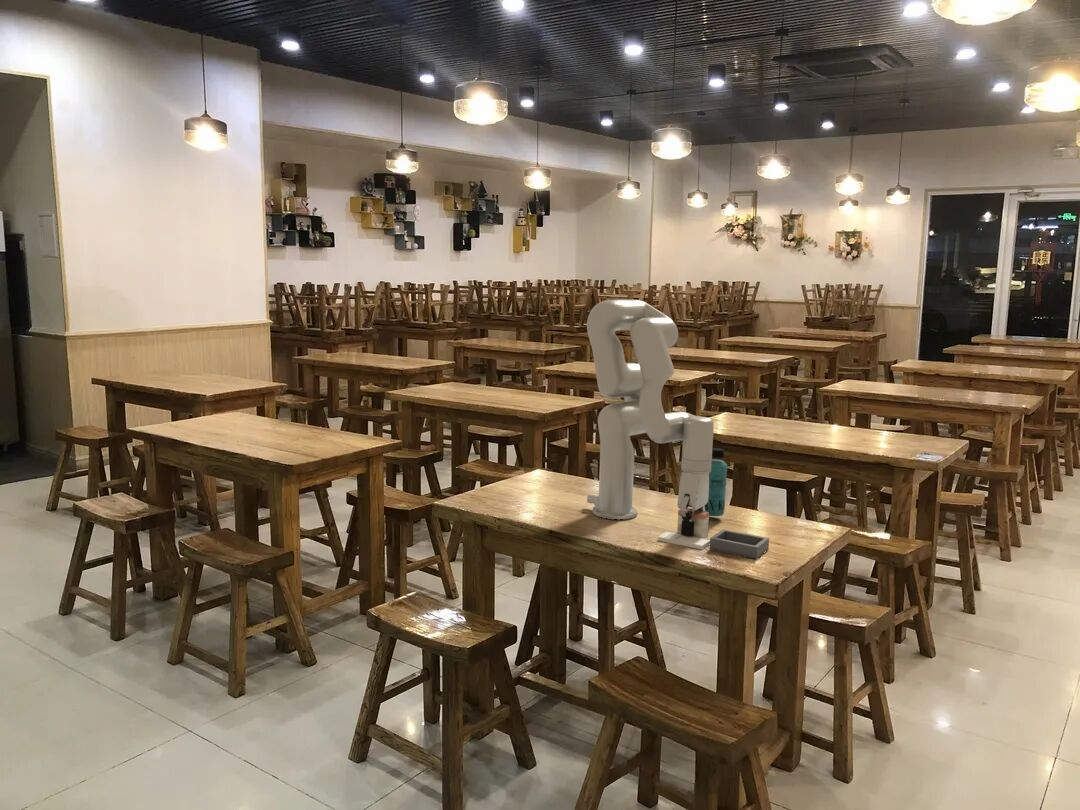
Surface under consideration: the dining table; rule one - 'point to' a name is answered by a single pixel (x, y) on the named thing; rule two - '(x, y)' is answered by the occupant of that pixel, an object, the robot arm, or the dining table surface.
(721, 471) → the beverage bottle
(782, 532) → the dining table surface
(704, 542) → the cream slab
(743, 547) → the tray
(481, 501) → the dining table surface
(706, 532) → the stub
